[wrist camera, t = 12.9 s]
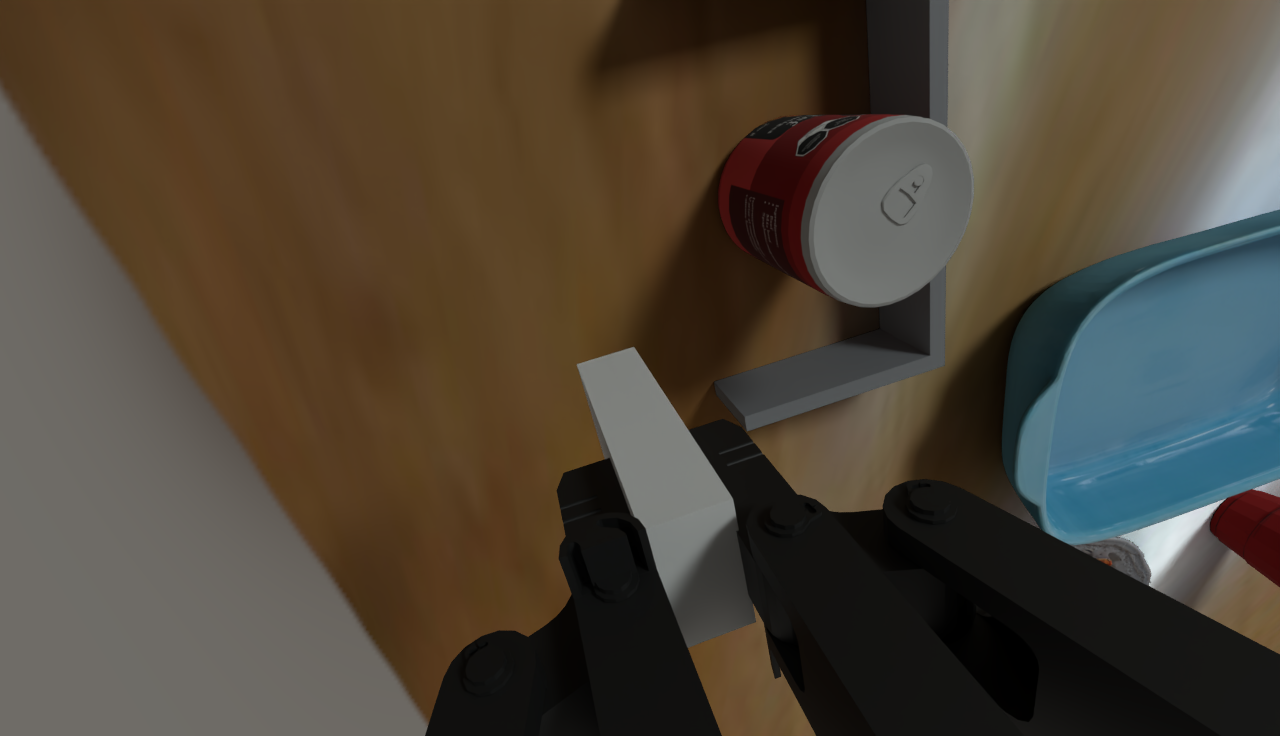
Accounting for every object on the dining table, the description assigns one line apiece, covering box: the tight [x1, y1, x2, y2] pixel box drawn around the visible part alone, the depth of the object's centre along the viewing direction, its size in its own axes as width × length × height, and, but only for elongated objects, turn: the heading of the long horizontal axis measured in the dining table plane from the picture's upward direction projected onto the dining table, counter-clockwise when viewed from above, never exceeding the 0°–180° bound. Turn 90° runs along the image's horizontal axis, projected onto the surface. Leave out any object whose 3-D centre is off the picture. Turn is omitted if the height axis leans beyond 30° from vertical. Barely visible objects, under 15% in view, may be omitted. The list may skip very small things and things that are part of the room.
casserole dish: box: [1002, 210, 1280, 545], centre depth 44 cm, size 37×22×7 cm, turn 102°
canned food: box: [718, 114, 974, 307], centre depth 29 cm, size 8×8×11 cm
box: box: [714, 0, 949, 431], centre depth 32 cm, size 24×13×5 cm, turn 13°
